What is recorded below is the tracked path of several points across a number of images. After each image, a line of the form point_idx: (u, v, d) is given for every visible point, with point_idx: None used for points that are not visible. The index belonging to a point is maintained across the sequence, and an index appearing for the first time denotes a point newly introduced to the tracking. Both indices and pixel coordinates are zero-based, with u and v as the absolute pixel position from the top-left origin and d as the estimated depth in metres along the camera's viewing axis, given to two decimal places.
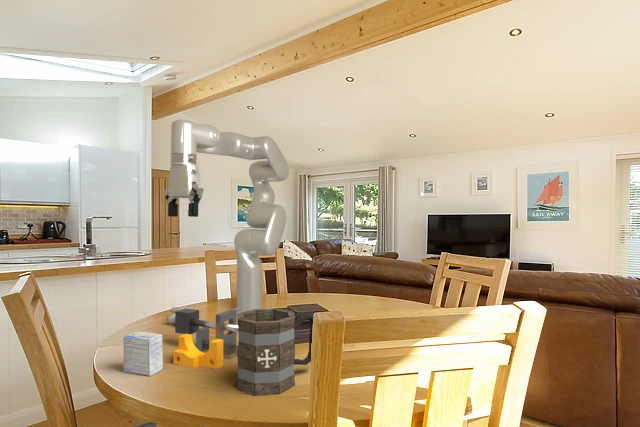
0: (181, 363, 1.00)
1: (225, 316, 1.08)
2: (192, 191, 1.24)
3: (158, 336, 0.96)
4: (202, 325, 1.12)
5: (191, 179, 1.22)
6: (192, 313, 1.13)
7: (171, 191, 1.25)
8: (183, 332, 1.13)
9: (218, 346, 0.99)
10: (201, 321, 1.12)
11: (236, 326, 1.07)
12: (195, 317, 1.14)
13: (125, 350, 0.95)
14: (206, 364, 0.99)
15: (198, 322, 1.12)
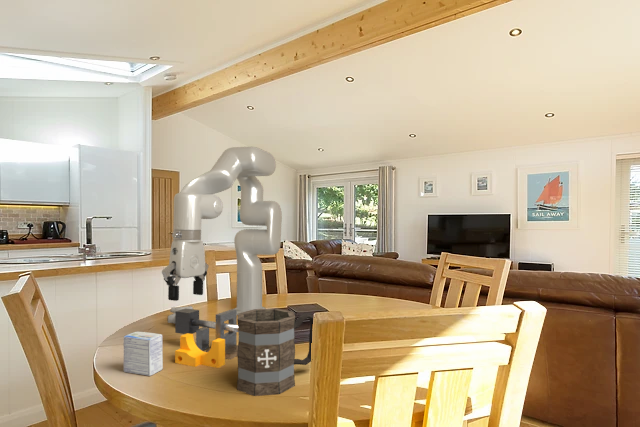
0: (183, 362, 1.01)
1: (225, 316, 1.08)
2: None
3: (158, 336, 0.96)
4: (202, 325, 1.12)
5: (171, 258, 1.10)
6: (192, 313, 1.13)
7: None
8: (183, 332, 1.13)
9: (220, 345, 0.99)
10: (201, 321, 1.12)
11: (236, 326, 1.07)
12: (195, 317, 1.14)
13: (125, 350, 0.95)
14: (208, 363, 1.00)
15: (198, 322, 1.12)
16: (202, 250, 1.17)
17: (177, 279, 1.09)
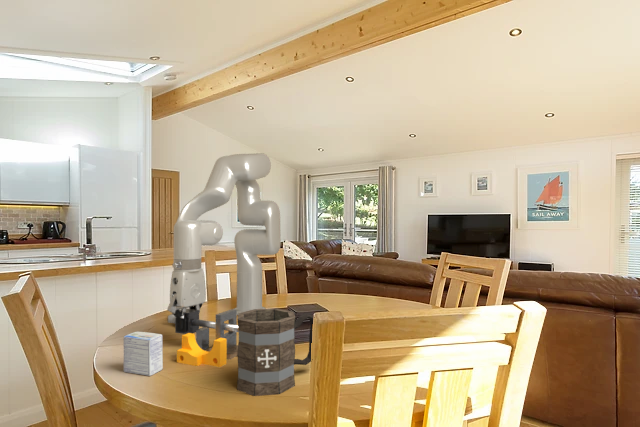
0: (185, 362, 1.01)
1: (225, 316, 1.08)
2: None
3: (158, 336, 0.96)
4: (202, 325, 1.12)
5: (172, 288, 1.11)
6: (192, 313, 1.13)
7: None
8: None
9: (221, 345, 1.00)
10: (201, 321, 1.12)
11: (236, 326, 1.07)
12: (195, 317, 1.14)
13: (125, 350, 0.95)
14: (210, 362, 1.00)
15: (198, 322, 1.12)
16: (203, 278, 1.17)
17: (183, 311, 1.11)
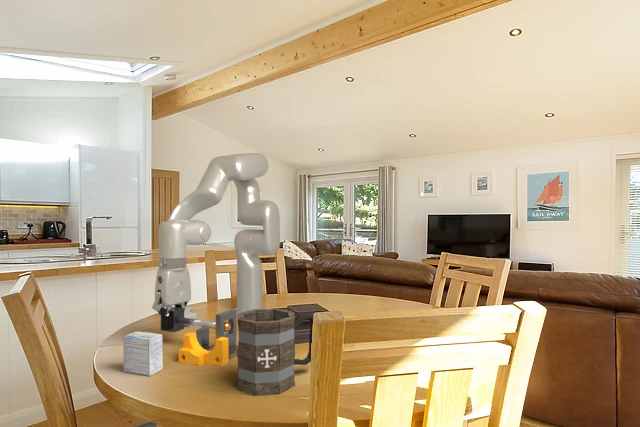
0: (186, 361, 1.02)
1: (225, 316, 1.08)
2: None
3: (158, 336, 0.96)
4: (186, 323, 1.14)
5: (157, 287, 1.13)
6: (177, 311, 1.15)
7: None
8: (168, 330, 1.15)
9: (223, 344, 1.00)
10: (186, 319, 1.14)
11: None
12: (180, 315, 1.16)
13: (125, 350, 0.95)
14: (212, 362, 1.01)
15: (182, 320, 1.14)
16: (188, 277, 1.19)
17: (168, 309, 1.14)
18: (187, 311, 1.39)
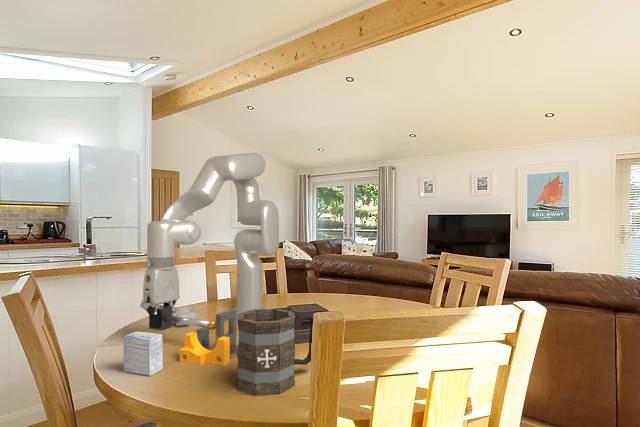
0: (188, 361, 1.02)
1: (225, 316, 1.08)
2: None
3: (158, 336, 0.96)
4: (174, 321, 1.16)
5: (145, 286, 1.15)
6: (165, 309, 1.17)
7: None
8: (156, 328, 1.17)
9: (225, 343, 1.01)
10: (173, 317, 1.16)
11: (206, 322, 1.11)
12: (168, 313, 1.18)
13: (125, 350, 0.95)
14: (213, 361, 1.01)
15: (170, 318, 1.16)
16: (176, 276, 1.21)
17: (156, 308, 1.16)
18: (187, 311, 1.39)
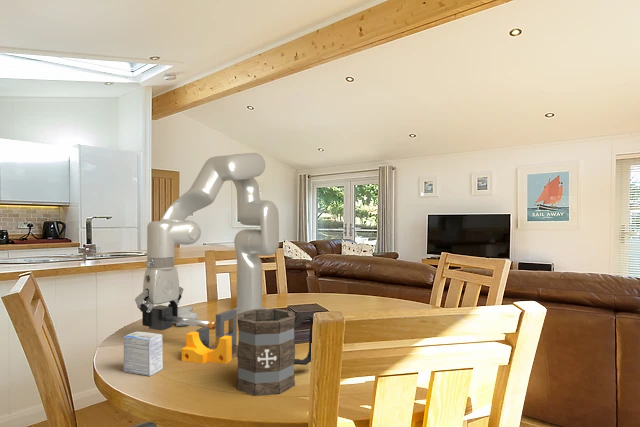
0: (190, 360, 1.03)
1: (225, 316, 1.08)
2: None
3: (158, 336, 0.96)
4: (174, 321, 1.16)
5: (145, 286, 1.15)
6: (165, 309, 1.17)
7: None
8: (156, 328, 1.17)
9: (227, 342, 1.02)
10: (173, 317, 1.16)
11: (206, 322, 1.11)
12: (168, 313, 1.18)
13: (125, 350, 0.95)
14: (215, 360, 1.02)
15: (170, 318, 1.16)
16: (176, 276, 1.21)
17: (150, 306, 1.14)
18: (187, 311, 1.39)
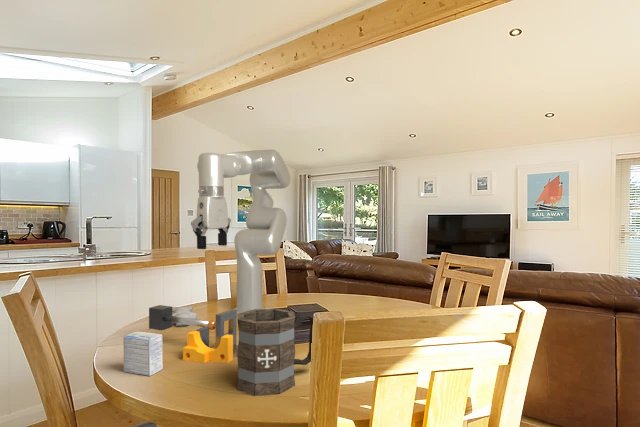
0: (191, 359, 1.03)
1: (225, 316, 1.08)
2: None
3: (158, 336, 0.96)
4: (174, 321, 1.16)
5: (198, 212, 1.24)
6: (165, 309, 1.17)
7: None
8: (156, 328, 1.17)
9: (229, 341, 1.02)
10: (173, 317, 1.16)
11: (206, 322, 1.11)
12: (168, 313, 1.18)
13: (125, 350, 0.95)
14: (217, 359, 1.03)
15: (170, 318, 1.16)
16: (225, 205, 1.29)
17: (204, 230, 1.23)
18: (187, 311, 1.39)
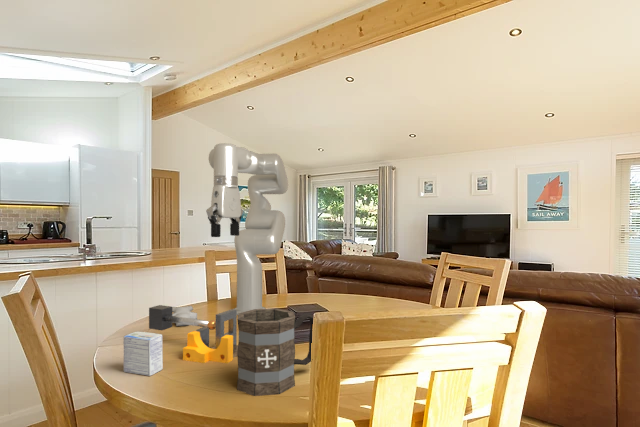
0: (191, 359, 1.03)
1: (225, 316, 1.08)
2: None
3: (158, 336, 0.96)
4: (174, 321, 1.16)
5: (213, 201, 1.26)
6: (165, 309, 1.17)
7: None
8: (156, 328, 1.17)
9: (229, 342, 1.02)
10: (173, 317, 1.16)
11: (206, 322, 1.11)
12: (168, 313, 1.18)
13: (125, 350, 0.95)
14: (217, 359, 1.03)
15: (170, 318, 1.16)
16: (238, 196, 1.32)
17: (219, 218, 1.25)
18: (187, 311, 1.39)
